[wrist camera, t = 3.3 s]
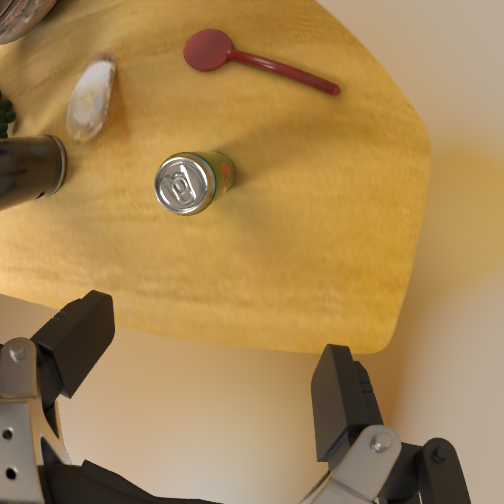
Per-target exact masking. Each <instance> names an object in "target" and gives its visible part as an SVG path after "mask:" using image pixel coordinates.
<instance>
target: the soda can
mask: <svg viewBox="0 0 504 504" xmlns="http://www.w3.org/2000/svg"><path fill="white" fill-rule="evenodd" d="M234 180H235V167H234V164H233V162H232V161H231V160H230V158H229V157H227V156H226V155H224V154H223V153H220V152H182V153H177V154H174V155H172V156H170V157H169V158H168V159H166V160H165V161H164V162H163V163H162V165H161V166H160V168H159V170H158V172H157V175H156V178H155V183H154V188H155V193H156V197H157V199H158V201H159V202H160V203H161V205H162V206H163V207H164V208H166V209H167V210H169V211H170V212H173V213H175V214H177V215H182V216H191V215H195V214H198V213H200V212H202V211H203V210H205V209H206V208H207V207H208V206H209V205H211V204H212V203H213V202H214V201H216V200H217V199H218V198H219V197H220V196H222V195H223V194H224V193H225V192H227V191H228V190H229V189H230V188H231V186H232V185H233V183H234Z"/></svg>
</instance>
